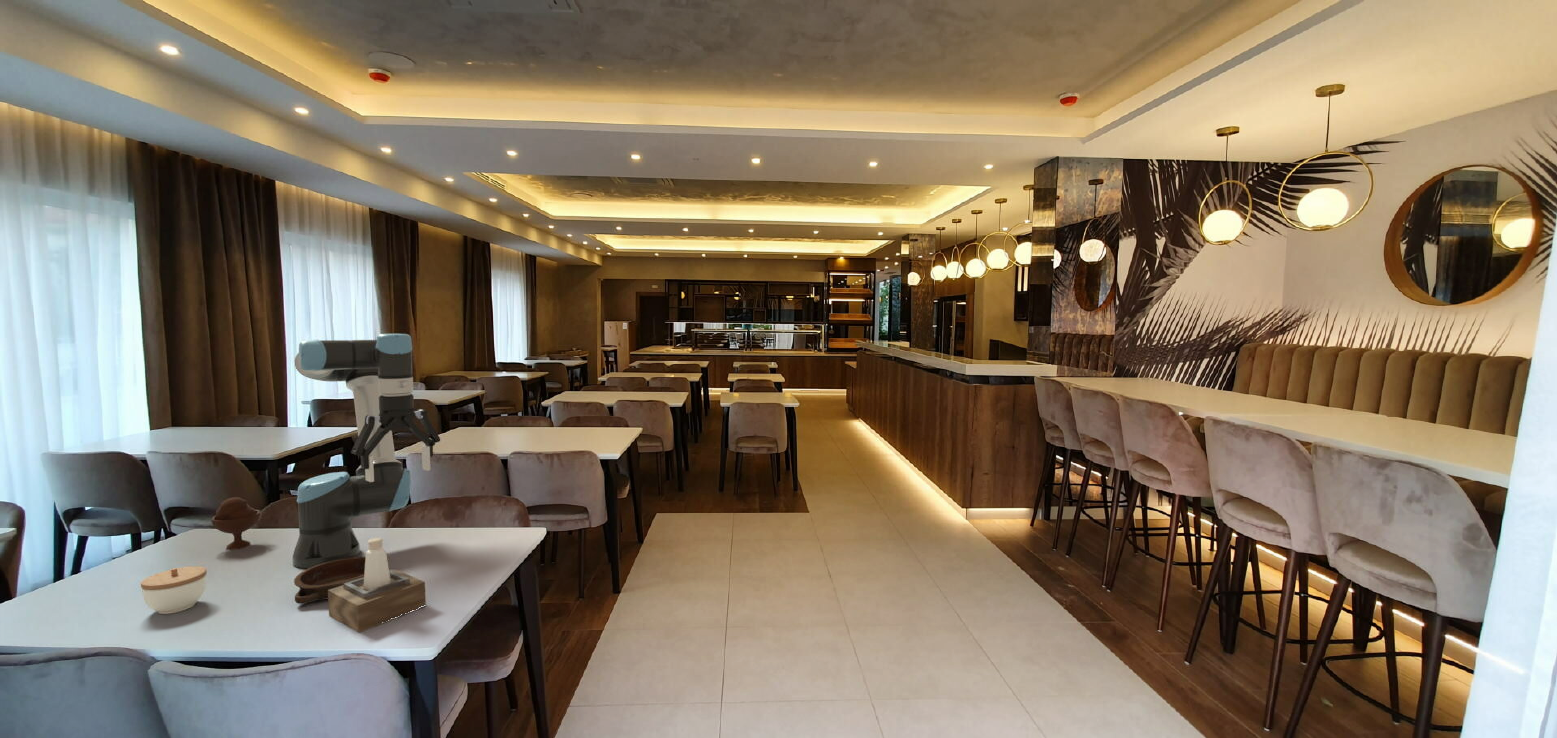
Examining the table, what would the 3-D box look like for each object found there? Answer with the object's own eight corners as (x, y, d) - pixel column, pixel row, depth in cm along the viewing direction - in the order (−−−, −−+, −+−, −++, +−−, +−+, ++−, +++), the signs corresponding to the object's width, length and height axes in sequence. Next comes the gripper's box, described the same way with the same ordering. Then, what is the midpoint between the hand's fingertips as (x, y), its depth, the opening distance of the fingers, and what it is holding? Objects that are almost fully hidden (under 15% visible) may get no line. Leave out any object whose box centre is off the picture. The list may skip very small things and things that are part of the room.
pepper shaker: (394, 585, 137) (392, 539, 137) (366, 593, 133) (364, 545, 133) (387, 578, 141) (385, 533, 140) (360, 585, 137) (358, 539, 136)
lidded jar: (150, 623, 131) (147, 582, 130) (137, 611, 137) (134, 571, 136) (215, 604, 140) (212, 565, 139) (200, 593, 146) (197, 556, 145)
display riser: (329, 615, 135) (327, 584, 135) (394, 592, 147) (393, 564, 147) (359, 632, 128) (357, 600, 128) (425, 606, 140) (424, 576, 139)
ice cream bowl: (268, 544, 178) (266, 494, 177) (219, 556, 169) (216, 504, 168) (255, 536, 184) (252, 489, 183) (207, 548, 175) (203, 498, 173)
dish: (266, 605, 140) (265, 585, 140) (351, 568, 162) (350, 550, 162) (327, 613, 137) (326, 592, 136) (405, 574, 158) (405, 556, 158)
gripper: (346, 400, 140) (350, 488, 142) (452, 390, 161) (454, 467, 163) (332, 397, 144) (336, 483, 146) (438, 388, 165) (440, 463, 167)
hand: (399, 475), depth 154 cm, fingers open, 13 cm apart
